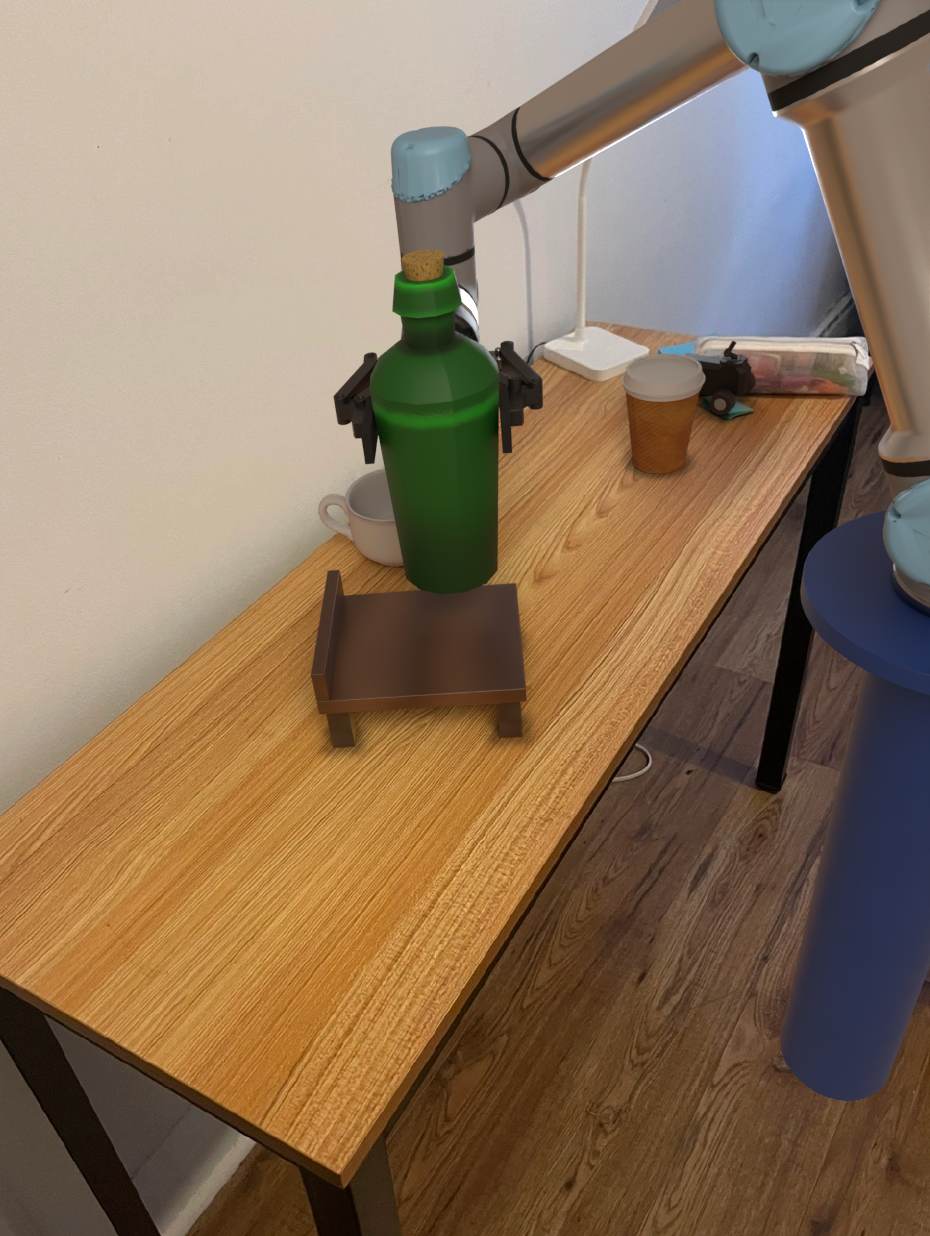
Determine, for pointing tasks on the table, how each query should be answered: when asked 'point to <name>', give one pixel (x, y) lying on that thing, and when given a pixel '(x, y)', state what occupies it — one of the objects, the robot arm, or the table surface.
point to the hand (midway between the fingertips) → (436, 443)
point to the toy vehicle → (725, 378)
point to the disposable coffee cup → (661, 409)
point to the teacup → (367, 518)
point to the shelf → (417, 654)
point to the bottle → (439, 433)
